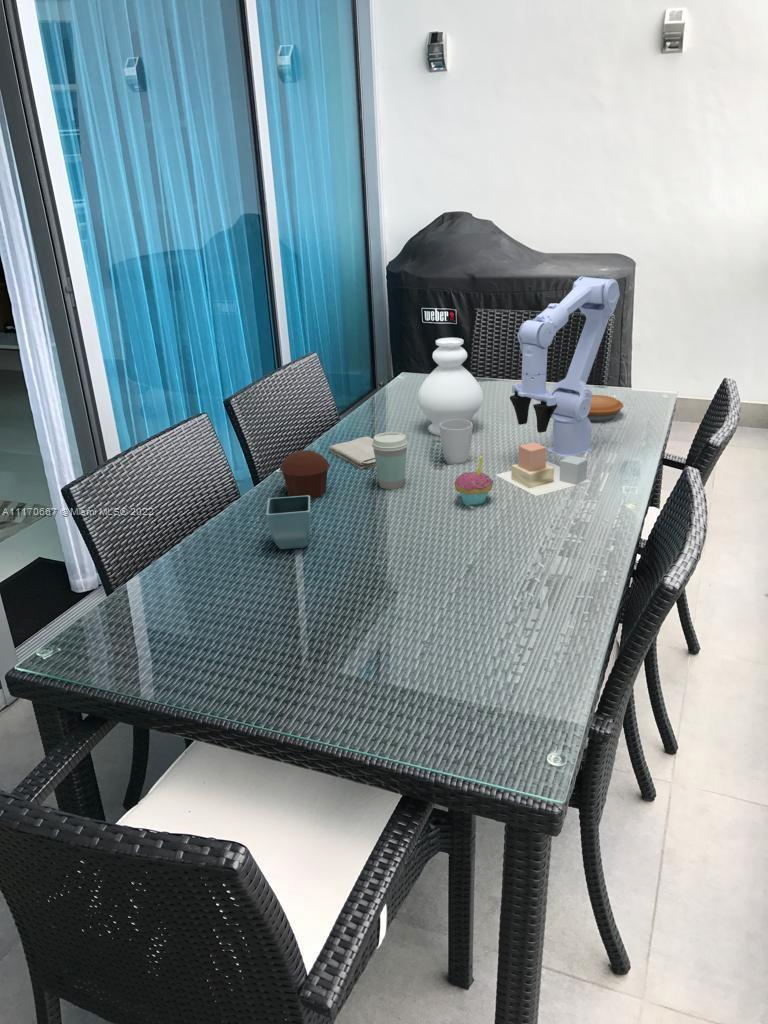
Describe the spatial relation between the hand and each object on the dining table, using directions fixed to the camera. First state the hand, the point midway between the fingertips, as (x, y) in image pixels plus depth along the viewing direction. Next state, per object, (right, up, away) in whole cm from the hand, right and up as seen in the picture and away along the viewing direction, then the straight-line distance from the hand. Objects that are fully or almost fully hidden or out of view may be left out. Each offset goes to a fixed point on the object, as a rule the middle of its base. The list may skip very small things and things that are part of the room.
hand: (532, 427), depth 211 cm
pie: (+25, +7, +40) cm, 48 cm away
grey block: (+9, -13, -6) cm, 16 cm away
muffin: (-54, -16, -4) cm, 56 cm away
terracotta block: (-1, -10, -6) cm, 12 cm away
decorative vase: (-17, +3, +35) cm, 39 cm away
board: (+2, -13, -3) cm, 13 cm away
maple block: (-1, -13, -5) cm, 14 cm away
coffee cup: (-34, -14, -2) cm, 37 cm away
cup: (-17, -8, +10) cm, 22 cm away
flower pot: (-55, -27, -30) cm, 68 cm away
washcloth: (-41, -6, +18) cm, 45 cm away
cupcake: (-16, -18, -14) cm, 28 cm away
